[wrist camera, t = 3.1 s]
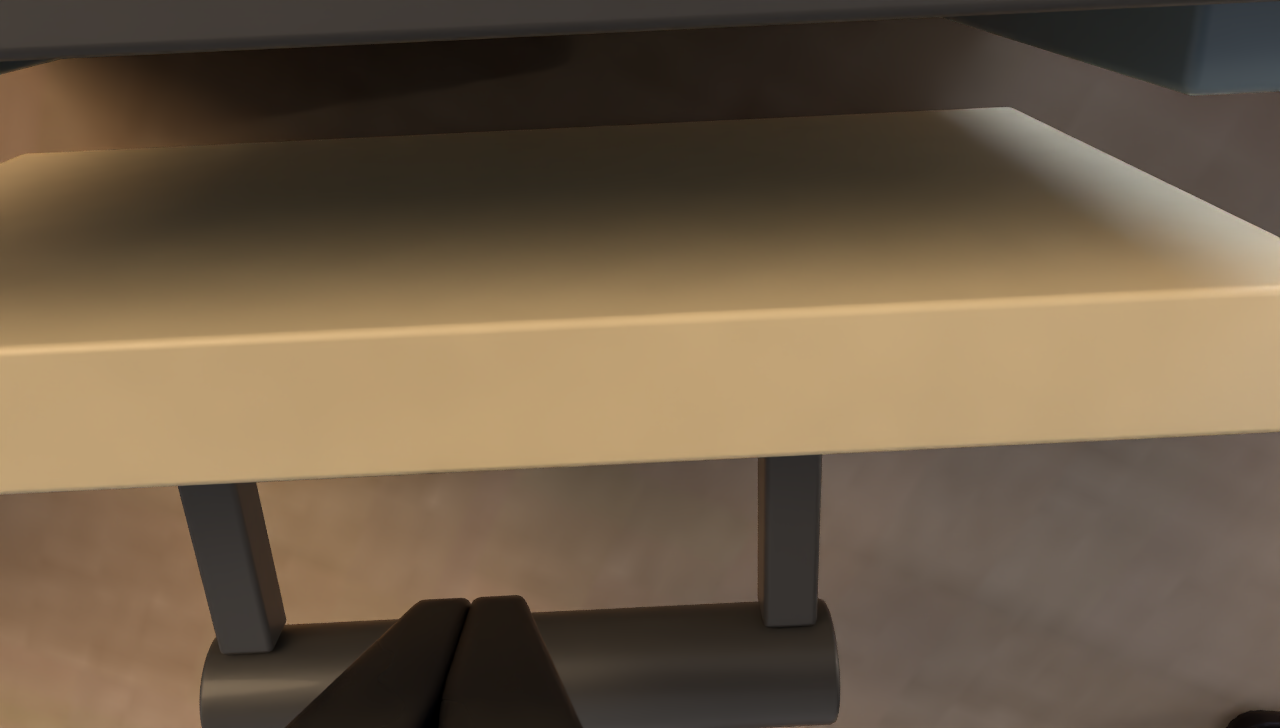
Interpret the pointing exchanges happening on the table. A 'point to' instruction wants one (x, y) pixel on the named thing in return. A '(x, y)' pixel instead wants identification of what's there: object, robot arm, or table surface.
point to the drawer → (625, 335)
